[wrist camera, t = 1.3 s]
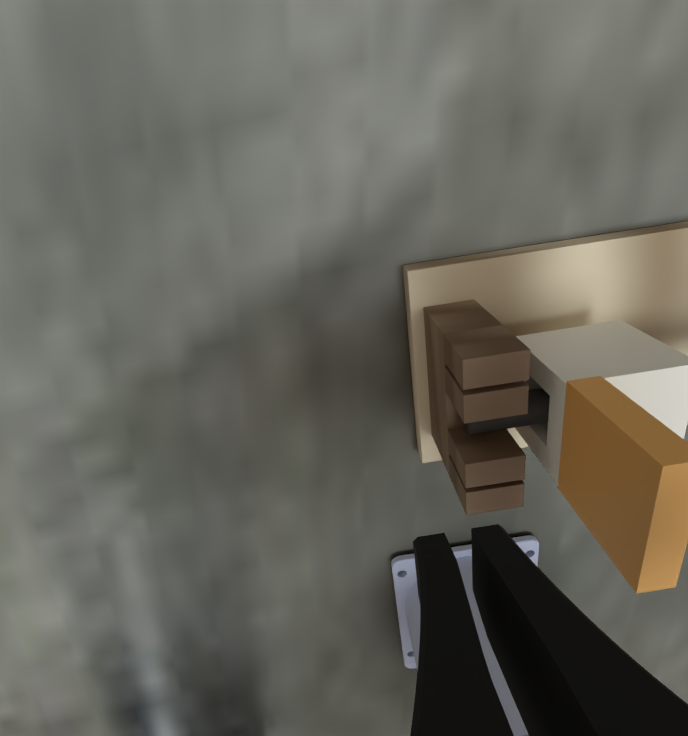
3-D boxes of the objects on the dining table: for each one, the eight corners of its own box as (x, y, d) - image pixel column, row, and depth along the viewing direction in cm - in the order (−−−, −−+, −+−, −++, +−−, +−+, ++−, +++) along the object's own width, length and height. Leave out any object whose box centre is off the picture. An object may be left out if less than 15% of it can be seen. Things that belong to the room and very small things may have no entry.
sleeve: (511, 425, 18) (636, 593, 11) (513, 333, 17) (662, 466, 10) (608, 409, 18) (793, 568, 11) (621, 317, 17) (848, 437, 10)
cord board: (417, 450, 22) (456, 554, 16) (402, 265, 18) (446, 317, 12) (786, 392, 22) (953, 476, 16) (851, 195, 18) (1100, 215, 12)
